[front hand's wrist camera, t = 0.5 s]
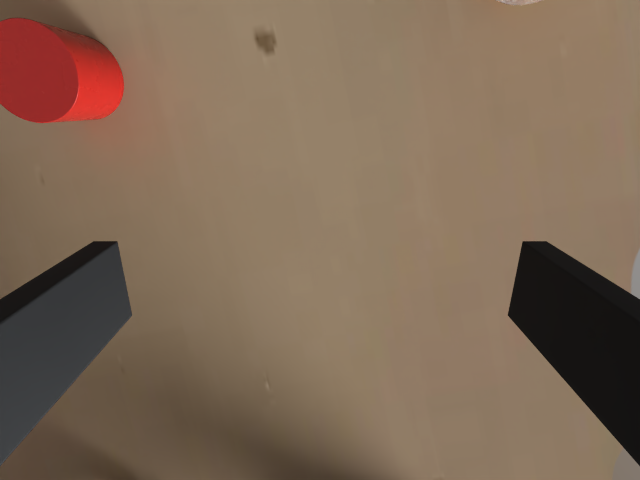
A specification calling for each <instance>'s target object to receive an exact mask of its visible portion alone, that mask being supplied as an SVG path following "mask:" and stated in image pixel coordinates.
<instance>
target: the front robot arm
mask: <svg viewBox="0 0 640 480" xmlns="http://www.w3.org/2000/svg"><path fill="white" fill-rule="evenodd" d="M131 316H132V312H131V307H130V302H129V297H128V292H127V287H126V282H125V277H124V272H123V267H122V262H121V258H120V253H119V248H118V243H117V241H93V242H92V243H90V244H89V245H87V246H85V247H84V248H82V249H81V250H79V251H77V252H76V253H74V254H73V255H71V256H69V257H68V258H66V259H64V260H63V261H61V262H60V263H58V264H56V265H55V266H53V267H52V268H50V269H48V270H47V271H45V272H44V273H42V274H40V275H39V276H37V277H36V278H34V279H32V280H31V281H29V282H27V283H26V284H24V285H23V286H21V287H19V288H18V289H16V290H15V291H13V292H11V293H10V294H8V295H7V296H5V297H3V298H2V299H0V466H1V464H2V463H3V462H4V461H5V460H6V459H7V458H8V456H9V455H10V454H11V453H12V452H13V451H14V450H15V448H16V447H17V446H18V445H19V444H20V443H21V442H22V440H23V439H24V438H25V437H26V436H27V435H28V434H29V432H30V431H31V430H32V429H33V428H34V427H35V426H36V425H37V423H38V422H39V421H40V420H41V419H42V418H43V417H44V415H45V414H46V413H47V412H48V411H49V410H50V409H51V407H52V406H53V405H54V404H55V403H56V402H57V401H58V399H59V398H60V397H61V396H62V395H63V394H64V393H65V391H66V390H67V389H68V388H69V387H70V386H71V385H72V383H73V382H74V381H75V380H76V379H77V378H78V377H79V375H80V374H81V373H82V372H83V371H84V370H85V369H86V367H87V366H88V365H89V364H90V363H91V362H92V361H93V359H94V358H95V357H96V356H97V355H98V354H99V353H100V351H101V350H102V349H103V348H104V347H105V346H106V345H107V343H108V342H109V341H110V340H111V339H112V338H113V337H114V335H115V334H116V333H117V332H118V331H119V330H120V329H121V327H122V326H123V325H124V324H125V323H126V322H127V321H128V319H129V318H130V317H131ZM508 316H509V317H510V318H511V319H512V321H513V322H514V323H515V324H516V325H517V326H518V327H519V329H520V330H521V331H522V332H523V333H524V334H525V335H526V337H527V338H528V339H529V340H530V341H531V342H532V343H533V345H534V346H535V347H536V348H537V349H538V350H539V351H540V353H541V354H542V355H543V356H544V357H545V358H546V359H547V361H548V362H549V363H550V364H551V365H552V366H553V367H554V369H555V370H556V371H557V372H558V373H559V374H560V375H561V377H562V378H563V379H564V380H565V381H566V382H567V383H568V385H569V386H570V387H571V388H572V389H573V390H574V391H575V393H576V394H577V395H578V396H579V397H580V398H581V399H582V401H583V402H584V403H585V404H586V405H587V406H588V407H589V409H590V410H591V411H592V412H593V413H594V414H595V415H596V417H597V418H598V419H599V420H600V421H601V422H602V423H603V425H604V426H605V427H606V428H607V429H608V430H609V431H610V432H611V434H612V435H613V436H614V437H615V438H616V439H617V440H618V442H619V443H620V444H621V445H622V446H623V447H624V448H625V450H626V451H627V452H628V453H629V454H630V455H631V456H632V458H633V459H634V460H635V461H636V462H637V463H638V464H639V466H640V299H638V298H637V297H635V296H633V295H632V294H630V293H629V292H627V291H625V290H624V289H622V288H621V287H619V286H617V285H616V284H614V283H613V282H611V281H609V280H608V279H606V278H604V277H603V276H601V275H600V274H598V273H596V272H595V271H593V270H592V269H590V268H588V267H587V266H585V265H584V264H582V263H580V262H579V261H577V260H576V259H574V258H572V257H571V256H569V255H567V254H566V253H564V252H563V251H561V250H559V249H558V248H556V247H555V246H553V245H551V244H550V243H548V242H547V241H523V243H522V248H521V253H520V257H519V262H518V267H517V272H516V277H515V282H514V287H513V292H512V297H511V302H510V307H509V312H508Z"/></svg>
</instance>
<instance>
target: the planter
mask: <svg viewBox="0 0 640 480" xmlns="http://www.w3.org/2000/svg"><path fill="white" fill-rule="evenodd" d="M496 1H499V2H501V3H505V4H509V5H526V4H531V3H536V2H539V1H542V0H496Z"/></svg>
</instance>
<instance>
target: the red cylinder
mask: <svg viewBox="0 0 640 480" xmlns="http://www.w3.org/2000/svg"><path fill="white" fill-rule="evenodd" d="M123 90H124V82H123V76H122V72H121V69H120V67H119V64H118V62H117V61H116V59H115V57H114V56H113V55H112V53H111V52H110V51H109V50H108V49H107V48H106V47H105V46H104V45H102V44H101V43H100V42H98V41H97V40H95V39H93V38H90V37H87V36H84V35H81V34H78V33H74V32H71V31H67V30H64V29H60V28H57V27H54V26H50V25H47V24H43V23H40V22H37V21H33V20H29V19H25V18H10V19H6V20H3V21H1V22H0V104H1V105H2V106H4V107H5V108H6V109H7V110H8V111H10V112H11V113H13V114H14V115H16V116H18V117H20V118H22V119H25V120H28V121H31V122H36V123H49V122H64V121H79V120H94V119H101V118H104V117H106V116H108V115H110V114H111V113H112V112H113V111H114V110H115V109H116V108H117V107H118V105H119V103H120V101H121V99H122V96H123Z"/></svg>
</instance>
